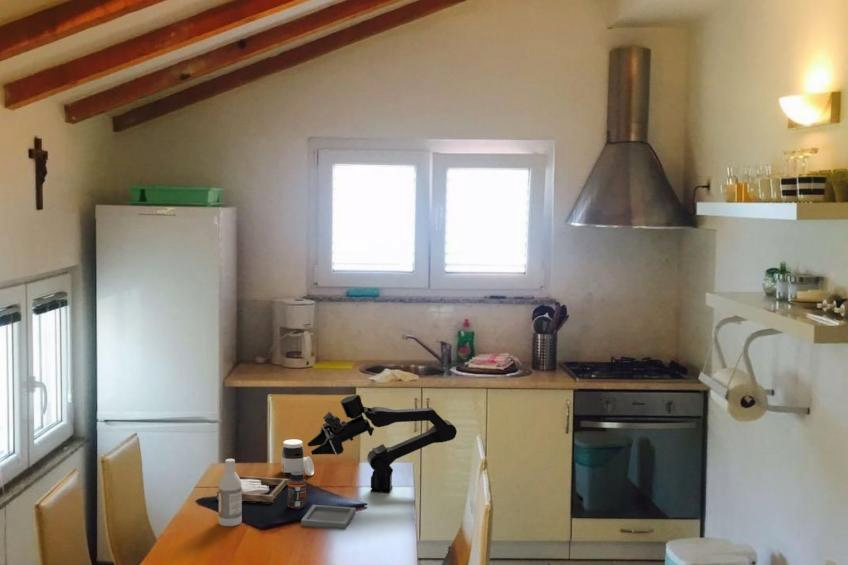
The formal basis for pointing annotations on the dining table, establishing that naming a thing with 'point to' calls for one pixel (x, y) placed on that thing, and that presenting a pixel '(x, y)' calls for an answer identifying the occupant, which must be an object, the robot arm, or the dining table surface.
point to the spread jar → (295, 458)
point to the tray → (328, 516)
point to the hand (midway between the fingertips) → (309, 449)
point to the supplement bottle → (296, 490)
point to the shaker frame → (264, 481)
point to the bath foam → (230, 496)
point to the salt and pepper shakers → (253, 486)
